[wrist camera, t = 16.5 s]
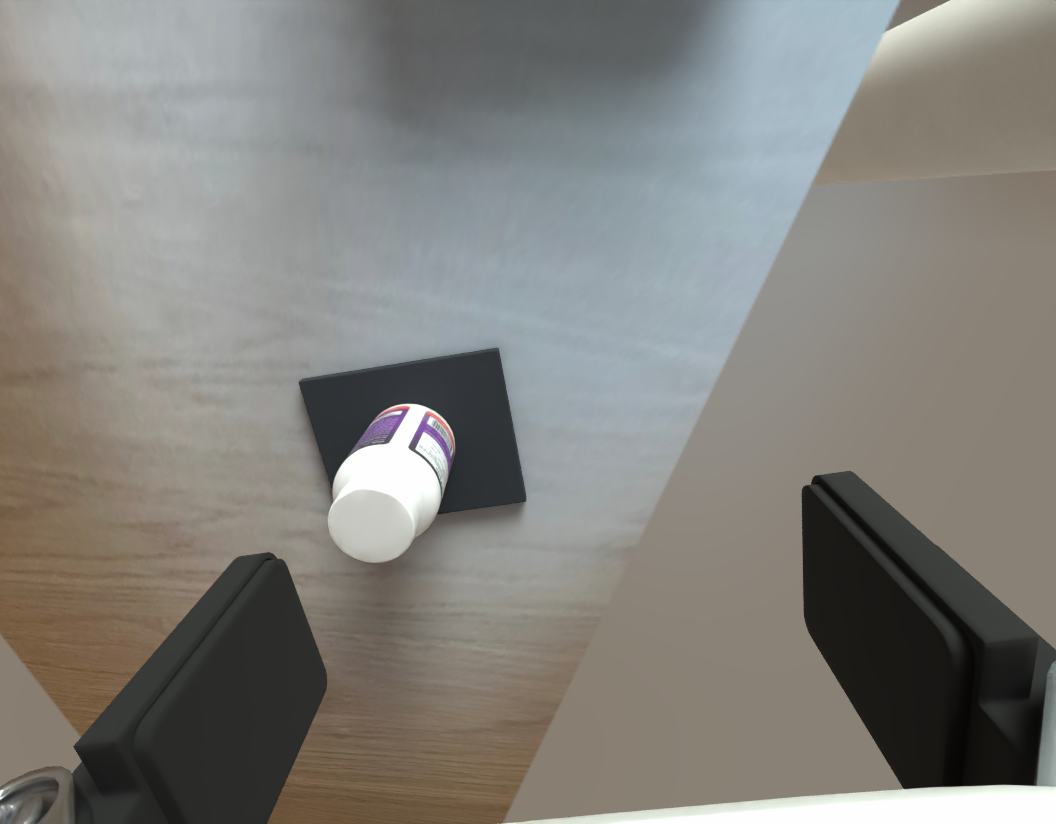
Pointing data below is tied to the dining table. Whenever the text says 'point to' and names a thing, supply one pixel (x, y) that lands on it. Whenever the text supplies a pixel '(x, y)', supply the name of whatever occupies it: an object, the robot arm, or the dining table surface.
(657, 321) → the dining table surface
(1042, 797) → the robot arm
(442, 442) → the pill bottle
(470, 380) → the mat
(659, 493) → the dining table surface
